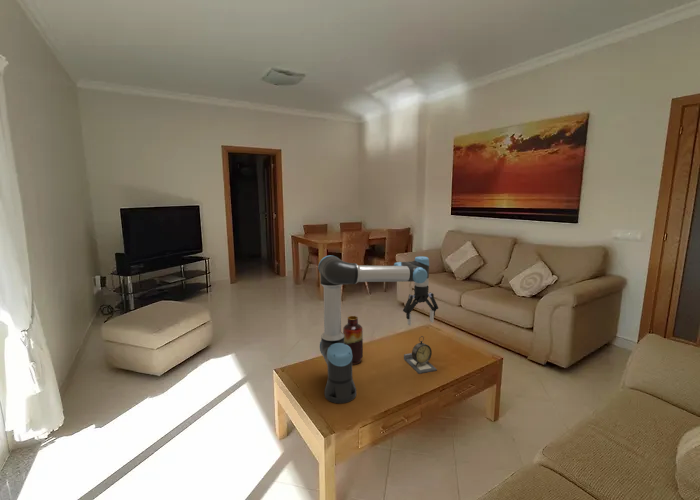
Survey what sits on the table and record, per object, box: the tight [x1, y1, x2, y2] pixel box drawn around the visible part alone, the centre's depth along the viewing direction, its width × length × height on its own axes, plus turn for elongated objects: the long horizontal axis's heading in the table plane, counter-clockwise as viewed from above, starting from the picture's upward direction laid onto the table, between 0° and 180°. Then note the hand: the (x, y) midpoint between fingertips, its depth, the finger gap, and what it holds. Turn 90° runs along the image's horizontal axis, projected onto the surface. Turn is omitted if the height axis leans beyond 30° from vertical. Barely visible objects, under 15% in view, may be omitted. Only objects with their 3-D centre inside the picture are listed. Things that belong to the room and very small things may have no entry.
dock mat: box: [403, 352, 438, 375], centre depth 189 cm, size 11×18×3 cm, turn 17°
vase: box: [342, 315, 364, 366], centre depth 192 cm, size 11×11×26 cm
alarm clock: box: [411, 335, 433, 366], centre depth 187 cm, size 11×5×16 cm, turn 116°
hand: (420, 323), depth 184 cm, fingers open, 13 cm apart
